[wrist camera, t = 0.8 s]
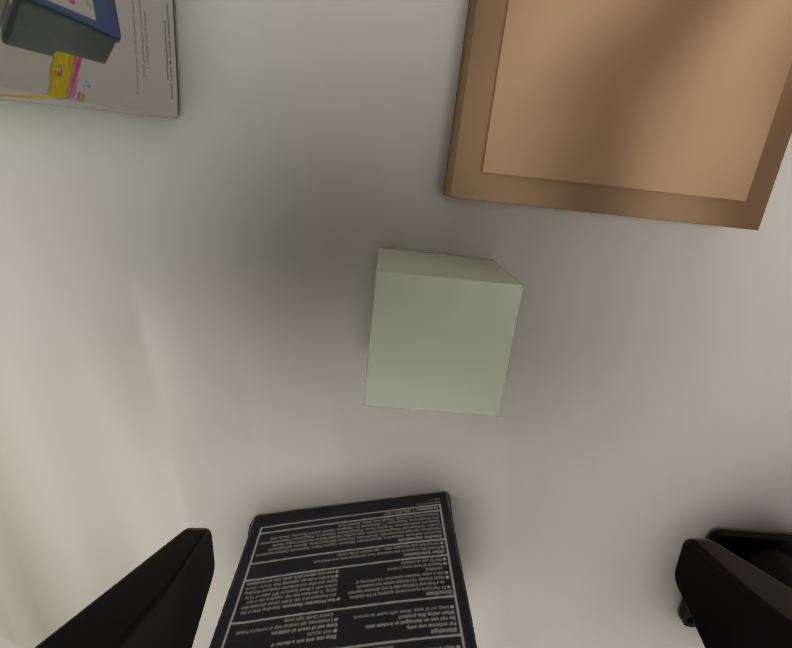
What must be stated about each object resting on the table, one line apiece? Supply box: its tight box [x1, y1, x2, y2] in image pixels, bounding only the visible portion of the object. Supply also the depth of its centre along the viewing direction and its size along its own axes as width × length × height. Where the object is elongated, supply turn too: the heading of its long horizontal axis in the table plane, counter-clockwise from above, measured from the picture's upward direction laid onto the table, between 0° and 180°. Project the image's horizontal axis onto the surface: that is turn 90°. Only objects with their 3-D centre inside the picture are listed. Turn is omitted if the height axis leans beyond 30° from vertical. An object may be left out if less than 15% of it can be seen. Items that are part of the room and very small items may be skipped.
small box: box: [209, 493, 477, 648], centre depth 20 cm, size 11×6×10 cm, turn 98°
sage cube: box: [364, 248, 524, 416], centre depth 19 cm, size 5×5×5 cm
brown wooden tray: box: [444, 0, 792, 230], centre depth 17 cm, size 12×10×2 cm
